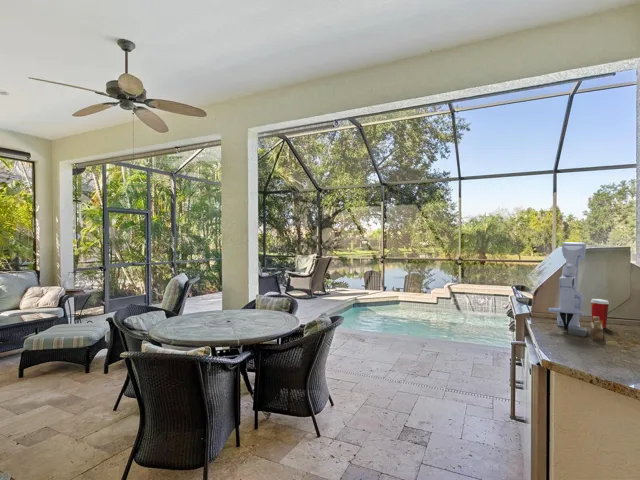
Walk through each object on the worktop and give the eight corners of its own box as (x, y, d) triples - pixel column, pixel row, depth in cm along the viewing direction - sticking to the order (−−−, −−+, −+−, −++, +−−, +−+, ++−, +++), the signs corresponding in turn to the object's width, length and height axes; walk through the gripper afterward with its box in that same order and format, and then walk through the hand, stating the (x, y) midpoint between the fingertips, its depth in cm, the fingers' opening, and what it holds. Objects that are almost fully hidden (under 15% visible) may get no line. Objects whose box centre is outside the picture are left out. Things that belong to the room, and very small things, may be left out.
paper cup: (601, 325, 186) (602, 298, 186) (612, 329, 178) (613, 301, 178) (586, 324, 187) (586, 298, 186) (595, 328, 179) (596, 301, 179)
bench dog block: (591, 338, 160) (592, 321, 160) (590, 332, 172) (590, 315, 172) (602, 340, 158) (603, 323, 158) (600, 333, 170) (601, 317, 169)
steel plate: (568, 334, 168) (568, 328, 168) (568, 331, 174) (568, 325, 174) (586, 337, 164) (586, 330, 164) (586, 333, 170) (586, 327, 170)
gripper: (548, 300, 173) (547, 327, 173) (585, 304, 164) (584, 332, 164) (549, 298, 178) (548, 324, 179) (585, 301, 170) (584, 329, 170)
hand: (566, 328), depth 172 cm, fingers closed
